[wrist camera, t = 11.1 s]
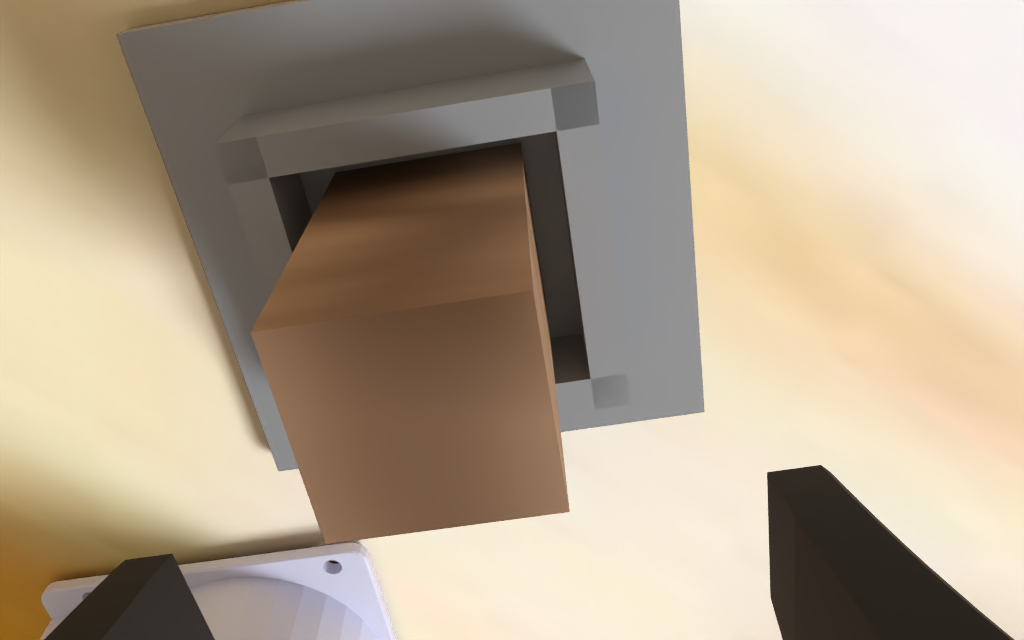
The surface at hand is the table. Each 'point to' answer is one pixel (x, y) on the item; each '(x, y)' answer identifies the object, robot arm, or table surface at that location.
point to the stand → (444, 130)
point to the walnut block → (418, 350)
